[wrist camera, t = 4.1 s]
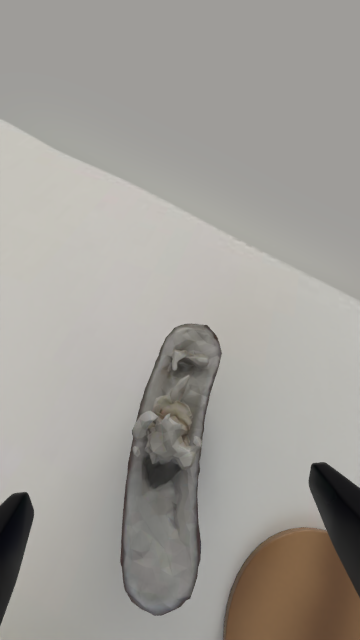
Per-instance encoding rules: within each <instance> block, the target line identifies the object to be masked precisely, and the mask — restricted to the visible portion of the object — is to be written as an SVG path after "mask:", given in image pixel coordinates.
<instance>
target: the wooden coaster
mask: <svg viewBox="0 0 360 640" xmlns="http://www.w3.org/2000/svg"><path fill="white" fill-rule="evenodd" d="M223 640H360V598H359V596H358V594H357V592H356V590H355V588H354V586H353V584H352V582H351V580H350V578H349V576H348V574H347V572H346V570H345V568H344V566H343V564H342V562H341V560H340V558H339V556H338V554H337V552H336V550H335V548H334V546H333V544H332V542H331V540H330V537H329V535H328V532H327V531H326V530H322V529H317V528H304V527H301V528H294V529H289V530H285V531H282V532H279V533H277V534H275V535H273V536H271V537H270V538H268V539H267V540H265V541H264V542H263V543H261V544H260V545H259V546H258V547H257V548H256V549H255V550H254V551H253V552H252V553H251V554H250V556H249V557H248V559H247V560H246V561H245V563H244V564H243V566H242V568H241V569H240V571H239V573H238V575H237V577H236V579H235V582H234V584H233V587H232V589H231V593H230V596H229V600H228V604H227V609H226V615H225V621H224V634H223Z"/></svg>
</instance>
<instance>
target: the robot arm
mask: <svg viewBox="0 0 360 640" xmlns="http://www.w3.org/2000/svg"><path fill="white" fill-rule="evenodd" d="M309 487H310V490H311V493H312V495H313V498H314V500H315V503H316V505H317V508H318V510H319V513H320V515H321V518H322V520H323V523H324V525H325V528H326V530H327V532H328V535H329V537H330V540H331V542H332V544H333V546H334V548H335V550H336V552H337V554H338V556H339V558H340V560H341V562H342V564H343V566H344V568H345V570H346V572H347V574H348V576H349V578H350V580H351V582H352V584H353V586H354V588H355V590H356V592H357V594H358V596H359V598H360V488H359V487H358V486H356V485H355V484H354V483H352V482H351V481H350V480H348V479H347V478H346V477H344V476H343V475H342V474H340V473H339V472H338V471H336V470H335V469H334V468H332V467H331V466H330V465H328V464H327V463H324V462H320V463H313V464H312V465H311V470H310V476H309ZM33 518H34V509H33V506H32V503H31V500H30V497H29V494H28V493H27V492H22V493H14V494H12V495H11V496H10V497H8V498H7V499H6V500H5V501H4V502H3V503H2V504H1V505H0V625H1V622H2V619H3V617H4V614H5V611H6V608H7V606H8V603H9V600H10V597H11V595H12V592H13V589H14V586H15V583H16V580H17V577H18V573H19V570H20V566H21V562H22V559H23V555H24V551H25V548H26V544H27V540H28V537H29V533H30V529H31V526H32V522H33Z"/></svg>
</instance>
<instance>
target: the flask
mask: <svg viewBox="0 0 360 640" xmlns="http://www.w3.org/2000/svg"><path fill="white" fill-rule="evenodd" d="M221 354H222V353H221V348H220V344H219V341H218V338H217V336H216V335H215V333H214V332H213V331H212V330H211V329H210V328H209V327H208V325H198V324H184V325H180V326H178V327H176V328H174V329H173V331H172V332H171V333H170V334H169V335H168V336H167V337H166V339H165V341H164V343H163V345H162V347H161V349H160V353H159V356H158V358H157V360H156V362H155V366H154V368H153V371H152V374H151V376H150V379H149V381H148V383H147V386H146V388H145V391H144V395H143V398H142V401H141V404H140V409H139V413H138V417H137V421H136V424H135V426H134V428H133V430H132V435H133V442H132V447H131V452H130V457H129V462H128V473H127V480H126V488H125V497H124V509H123V523H122V540H121V560H120V562H121V566H122V571H123V582H124V588H125V591H126V592H127V594H128V596H129V598H130V599H131V601H132V602H133V603H134V604H136V605H137V606H138V607H139V608H141V609H142V610H145V611H147V612H149V613H151V614H153V615H154V616H159V615H164V614H166V613H168V612H171V611H173V610H175V609H177V608H179V607H181V606H182V605H183V603H184V602H185V601H186V600H188V599H190V597H191V594H192V591H193V588H194V586H195V582H196V579H197V573H198V566H199V562H200V554H201V540H200V532H199V524H198V504H197V487H198V475H199V472H200V468H199V460H200V456H201V447H202V436H203V431H204V419H205V414H206V409H207V405H208V401H209V396H210V392H211V389H212V386H213V382H214V379H215V376H216V373H217V370H218V367H219V363H220V358H221Z"/></svg>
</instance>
